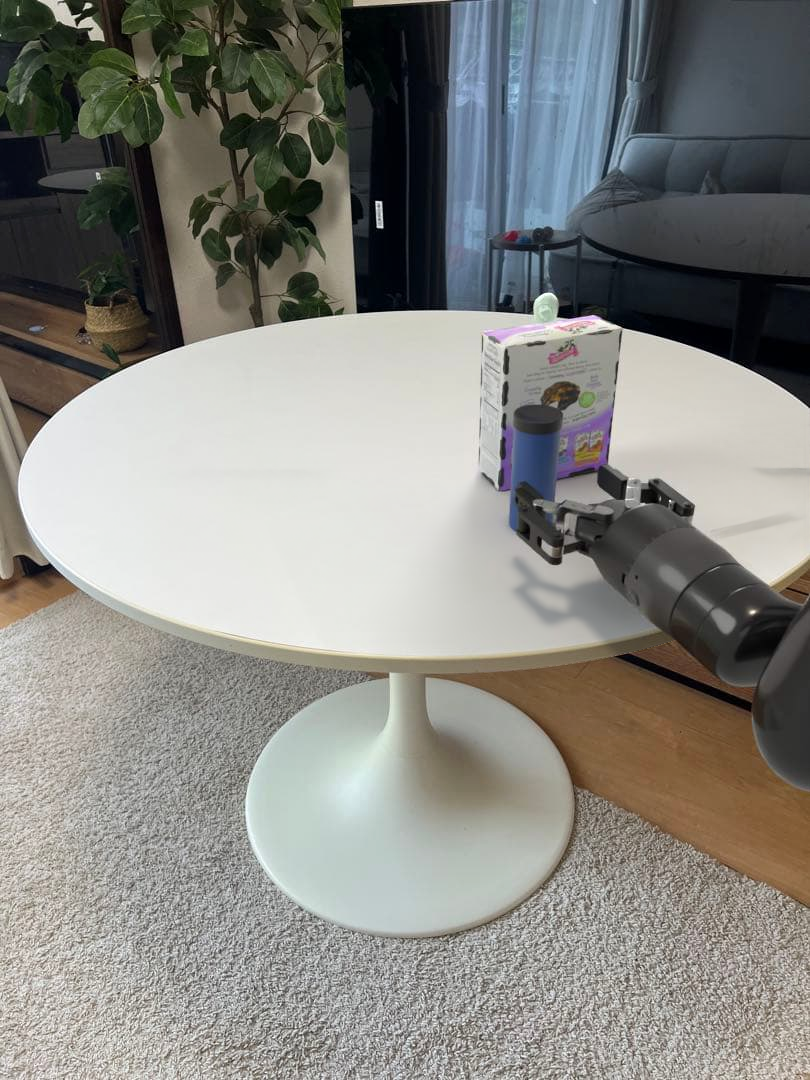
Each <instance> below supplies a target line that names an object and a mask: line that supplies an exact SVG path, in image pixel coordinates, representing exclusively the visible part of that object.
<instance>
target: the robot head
mask: <svg viewBox="0 0 810 1080" xmlns="http://www.w3.org/2000/svg"><path fill="white" fill-rule="evenodd" d="M559 308H560V304H559V300H558V298H557V297H556V294H554V293H552V292H545V293H542V294H541V295H539V296H538V297H537V298H536V299H535V301H534V303H533V320H534V324H540V323H546V322H553V321H556V319H557V317H558V313H559Z"/></svg>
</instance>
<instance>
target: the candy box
mask: <svg viewBox="0 0 810 1080" xmlns="http://www.w3.org/2000/svg"><path fill="white" fill-rule="evenodd" d="M623 330H624V329H623V327H622V326H619V325H616V324H615V323H612V322H611V321H608V320H605V319H603V318H601V317H600V316H597V315H595V314H592V315H587V316H580V317H575V318H568V319H561V320H555V321H553V322H546V323H540V324H535V323H534V324H527V325H526V324H525V325H519V326H513V327H506V328H500V329H499V328H498V329H492V330H485V331H482V332H481V355H480V356H481V358H480V359H481V360H480V398H479V433H478V434H479V435H478V436H479V439H478V466H477V467H478V471H479V472H480V473H481V474H482V475H483V477H485V479H486V480H487V481H488V482H489V483H490V484H491V485H492V487H494V488H495V490H497V491H501V492H502V491H506V490H511V473H512V454H513V434H514V426H513V414H514V411H515V410H516V409H517V408H519V407H522V406H526V405H547V406H552V407H555V408H557V409H559V410H560V411H561V412H562V413H563V424H562V428H561V434H560V446H559V458H558V469H557V480H559V479H563V478H567V477H572V476H578V475H581V474H586V473H591V472H596V471H598V469H599V466H601V465H606V464H608V465H609V457H610V447H611V446H610V445H611V438H612V429H613V420H614V409H615V400H616V391H617V384H618V383H617V382H618V375H619V374H618V373H619V363H620V357H621V356H620V355H621V347H622V338H623Z"/></svg>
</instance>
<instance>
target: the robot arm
mask: <svg viewBox="0 0 810 1080" xmlns="http://www.w3.org/2000/svg"><path fill="white" fill-rule="evenodd" d="M596 483H597V486H598V487H599V488H600V489H601V490H603V491H604V492H605V493H606V494H607V495H609V496H610V497H612V498H611V499H607V500H604V501H602V502H599V503H589V504H586V503H581V502H577V501H574V500H570V499H564V500H563V501H562V502H556V501H555V502H552V501H549V500H545V499H544V497H543V496H542V495H541V494H540V493H539V492H538V491H536V490H535V489H534V488H533V487H532V486H531V485H530V484H528V483H527V482H526V481H524V482H519V483H517V488H516V489H515V497H514V504H515V506H516V507H517V508H518V511H517V515H518V520H517V529H516V531H515V532H516V533H515V534H516V536H517V537H518V538H519V539H521V540H522V542H523V543H525V544H526V545H527V546H528V547H529V548H531V549H532V550H533V551H534V552H535V553H536V554H537V555H539V556H540V557H541V558H542V559H543V560H544V561H545V562H546V563H547V564H549V565H551V566H559V565H562V564H563V558H564V557H563V556H565V555H568V554H572V553H575V552H577V553H579V554H581V555H583V556H586V557H587V558H590V559H592V561H593V562H594V565H595V566H596V568H597V570H598V571H599V573H600V575H601V577H602V579H604V580H605V581H606V582H607V583H608V584H609V585H610V586H612V588H613V589H614V590H615V591H617V593H618V594H619V595H621V596H622V598H624V599H625V600H626V601H627V602H628V603H630V604H631V605H632V606H633V607H634V608H635V609H636V610H637V611H638V612H639V613H640V614H641V615H642V616H644V618H646V620H648V621H649V622H650V623H651V624H652V625H653V626H655V627H656V628H657V629H659V630H660V631H662V632H663V633H664V634H666V635H668V636H669V637H670V638H672V639H673V640H674V641H675V642H676V643H678V644H679V645H680V646H681V647H682V648H683V649H684V650H685V651H686V652H687V653H688V654H689V655H690V656H692V657H693V658H694V659H695V660H696V661H697V662H698V663H700V664H701V666H703V667H704V668H705V669H706V670H707V671H709V673H711V674H712V675H713V676H714V677H715V678H716V679H719V680H720V681H721V682H723V683H725V684H727V685H730V686H734V687H738V688H748V687H755V688H754V693H753V697H752V702H751V712H750V713H751V714H750V715H751V728H752V733H753V738H754V742H755V744H756V747H757V750H758V751H759V753H760V755H761V757H762V759H763V761H764V762H765V763H766V764H767V766H768V768H769V769H770V770H771V771H772V772H773V773H774V774H775V775H776V776H778V777H779V778H780V779H781V780H783V781H784V782H785V783H786V784H788V785H790V786H792V787H794V788H796V789H799V790H802V791H805V792H808V793H810V593H809V594H808V597H807V598H806V599H805V601H804V603H799V602H796V601H794V600H791V599H789V598H786V597H785V596H783V595H782V594H781V593H780V592H778V590H776V589H774V588H773V587H772V586H770V585H769V584H768V583H766V581H764V580H762V579H761V578H759V577H758V576H756V575H755V574H754V573H753V572H751V571H750V570H749V569H747V568H746V567H745V566H743V565H742V564H741V563H740V562H739V561H738V560H737V559H736V558H735V557H734V556H733V555H732V554H731V553H730V552H729V551H728V550H726V549H725V548H724V547H723V546H722V545H720V544H718V543H717V542H716V541H715V540H713V539H712V538H710V537H709V536H708V535H706V534H705V533H703V532H702V531H701V530H699V529H698V528H697V527H695V526H694V525H693V519H694V515H695V509H696V505H695V503H693V502H692V501H690V500H689V499H688V498H687V497H685V496H684V495H682V494H681V493H680V492H679V491H677V490H676V489H675V488H674V487H672V486H671V485H669V484H668V483H667V482H666V481H664V480H663V479H662V478H659V477H651V478H650V477H649V479H648V482H642V480H640V479H639V478H633V477H631V478H630V477H629V476H628V475H626V474H624V472H622V471H620V470H619V469H617V468H614V467H613V466H611V465H610V464H609V463H608V464H606V465H601V466H599V469H598V470H597V479H596ZM547 512H548V513H552V514H554V516H555V518H556V519H555V521H553V522H552V521H548V520H546V515H547ZM571 515H573V516H576V520H575V527H574V531H572V530H571V529H570V519H571Z"/></svg>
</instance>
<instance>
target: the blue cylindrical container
mask: <svg viewBox="0 0 810 1080" xmlns="http://www.w3.org/2000/svg"><path fill="white" fill-rule="evenodd" d="M562 424H563V413H562V412H561V411H560V410H559V409H557V408H555V407H552V406H547V405H526V406H522V407H519V408H517V409H516V410H515V411H514V414H513V426H514V434H513V454H512V473H511V489H510V495H509V511H508V512H509V515H508V524H509V527H510V528H511V529H512V530H513V531H515V532H516V529H517V520H518V515H517V511H518V508H517V507H516V506H515V504H514V497H515V489H516V488H517V483H519V482H524V481H526V482H527V483H528V484H530V485H531V486H532V487H533V488H534V489H535V490H536V491H538V492H539V493H540V494H541V495H542V496H543V497H544V499H545V500H549V501H552V502H556V493H557V492H556V491H557V481H558V479H557V469H558V458H559V446H560V434H561V428H562ZM554 516H555V515H554V514H552V513H548V512H547V515H546V520H548V521H552V522H554Z"/></svg>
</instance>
